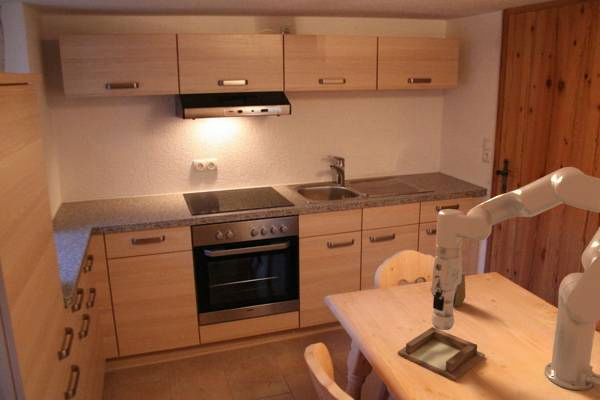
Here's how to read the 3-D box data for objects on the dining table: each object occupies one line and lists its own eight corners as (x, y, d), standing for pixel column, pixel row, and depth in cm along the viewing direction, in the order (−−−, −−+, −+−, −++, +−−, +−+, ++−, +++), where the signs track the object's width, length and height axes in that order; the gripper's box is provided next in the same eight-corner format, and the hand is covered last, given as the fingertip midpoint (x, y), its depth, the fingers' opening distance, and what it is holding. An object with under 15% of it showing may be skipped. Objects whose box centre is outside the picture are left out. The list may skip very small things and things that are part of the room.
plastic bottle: (454, 333, 150) (459, 272, 145) (431, 331, 151) (435, 270, 146) (452, 323, 156) (457, 264, 151) (430, 321, 157) (434, 262, 152)
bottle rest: (484, 357, 154) (485, 345, 153) (455, 381, 142) (455, 368, 141) (428, 334, 168) (429, 323, 167) (397, 354, 156) (398, 342, 155)
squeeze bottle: (467, 302, 192) (470, 258, 187) (461, 310, 185) (465, 265, 181) (446, 297, 196) (449, 254, 191) (440, 305, 189) (443, 261, 185)
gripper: (444, 261, 139) (439, 319, 143) (474, 247, 150) (469, 301, 155) (421, 254, 144) (417, 310, 148) (451, 241, 155) (447, 293, 160)
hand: (444, 305), depth 151 cm, fingers closed on plastic bottle, 6 cm apart
